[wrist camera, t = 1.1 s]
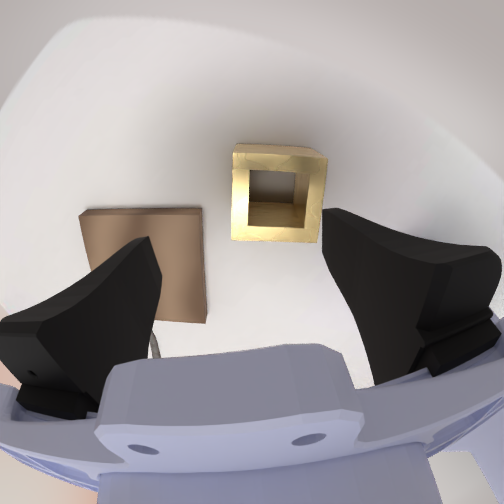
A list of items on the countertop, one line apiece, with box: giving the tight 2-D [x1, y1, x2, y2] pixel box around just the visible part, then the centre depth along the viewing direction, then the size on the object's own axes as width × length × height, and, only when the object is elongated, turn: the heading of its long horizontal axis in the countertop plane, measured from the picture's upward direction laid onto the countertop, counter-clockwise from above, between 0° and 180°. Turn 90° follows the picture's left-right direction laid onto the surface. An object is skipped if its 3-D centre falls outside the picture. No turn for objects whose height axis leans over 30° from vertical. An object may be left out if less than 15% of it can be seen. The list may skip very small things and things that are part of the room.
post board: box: [79, 208, 207, 324], centre depth 22 cm, size 11×11×6 cm
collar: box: [231, 144, 328, 243], centre depth 19 cm, size 6×6×5 cm
